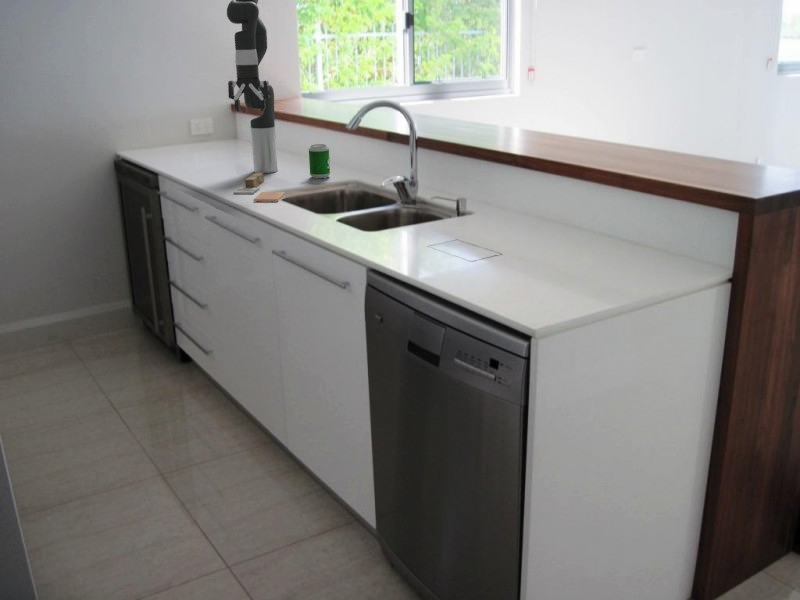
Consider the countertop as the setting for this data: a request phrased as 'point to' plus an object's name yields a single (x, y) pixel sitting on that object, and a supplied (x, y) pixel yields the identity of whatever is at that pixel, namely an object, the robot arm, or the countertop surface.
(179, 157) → the countertop surface
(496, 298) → the countertop surface
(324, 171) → the soda can
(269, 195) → the tile
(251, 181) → the turner
